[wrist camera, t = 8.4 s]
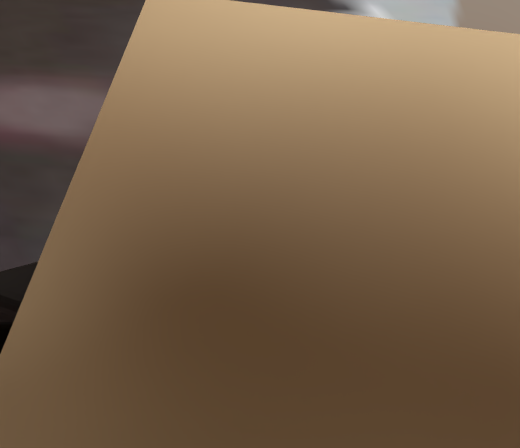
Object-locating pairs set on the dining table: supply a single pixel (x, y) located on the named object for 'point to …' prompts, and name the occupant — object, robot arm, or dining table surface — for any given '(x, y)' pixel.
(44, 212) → the dining table surface
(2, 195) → the dining table surface
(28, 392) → the tan wooden tall block
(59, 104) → the dining table surface
